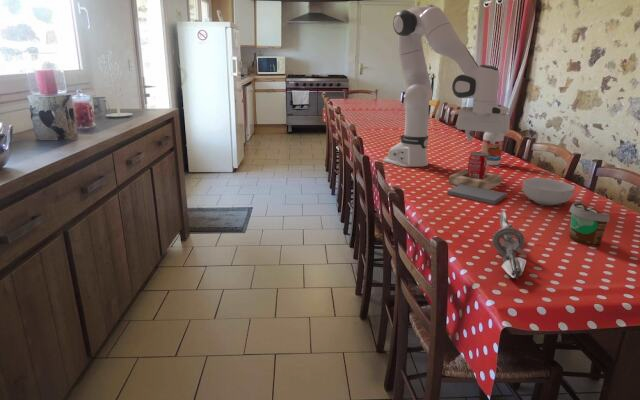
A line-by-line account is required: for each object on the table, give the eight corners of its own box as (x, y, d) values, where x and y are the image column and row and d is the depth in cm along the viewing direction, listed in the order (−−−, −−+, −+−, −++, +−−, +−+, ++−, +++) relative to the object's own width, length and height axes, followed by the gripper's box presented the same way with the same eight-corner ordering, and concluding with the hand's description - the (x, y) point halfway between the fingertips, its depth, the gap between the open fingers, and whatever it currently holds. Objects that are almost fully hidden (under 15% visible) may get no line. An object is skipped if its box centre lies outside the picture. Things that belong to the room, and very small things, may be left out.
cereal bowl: (550, 212, 148) (554, 193, 145) (510, 198, 162) (513, 180, 159) (581, 205, 155) (585, 186, 153) (540, 193, 169) (543, 175, 167)
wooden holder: (448, 183, 180) (449, 175, 179) (464, 176, 191) (465, 168, 190) (486, 191, 170) (487, 183, 169) (500, 183, 181) (502, 175, 180)
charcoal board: (447, 194, 166) (447, 190, 166) (460, 187, 175) (460, 184, 174) (494, 204, 155) (494, 200, 154) (505, 197, 164) (506, 193, 163)
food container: (555, 231, 131) (561, 200, 128) (574, 231, 132) (581, 200, 128) (582, 248, 119) (589, 215, 116) (603, 248, 120) (611, 214, 117)
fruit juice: (490, 160, 221) (497, 105, 213) (504, 164, 213) (512, 107, 204) (475, 162, 218) (483, 106, 209) (489, 166, 210) (497, 108, 201)
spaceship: (521, 207, 128) (496, 196, 129) (543, 271, 97) (510, 256, 98) (506, 228, 132) (482, 217, 132) (523, 296, 101) (491, 281, 102)
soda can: (485, 186, 177) (489, 155, 173) (467, 185, 178) (470, 154, 174) (482, 182, 183) (486, 152, 179) (465, 180, 185) (468, 151, 181)
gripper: (456, 107, 175) (453, 140, 179) (507, 110, 162) (503, 146, 166) (462, 105, 179) (459, 138, 184) (513, 108, 166) (508, 144, 171)
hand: (480, 142), depth 175 cm, fingers open, 8 cm apart
